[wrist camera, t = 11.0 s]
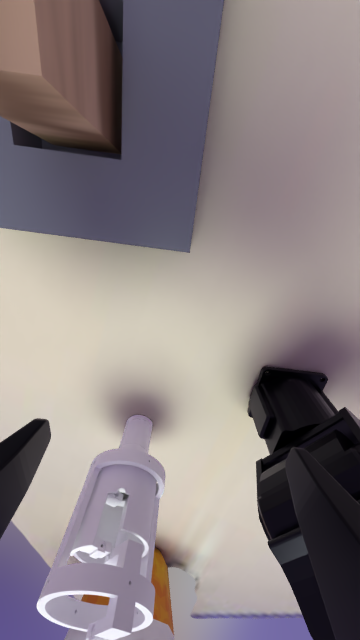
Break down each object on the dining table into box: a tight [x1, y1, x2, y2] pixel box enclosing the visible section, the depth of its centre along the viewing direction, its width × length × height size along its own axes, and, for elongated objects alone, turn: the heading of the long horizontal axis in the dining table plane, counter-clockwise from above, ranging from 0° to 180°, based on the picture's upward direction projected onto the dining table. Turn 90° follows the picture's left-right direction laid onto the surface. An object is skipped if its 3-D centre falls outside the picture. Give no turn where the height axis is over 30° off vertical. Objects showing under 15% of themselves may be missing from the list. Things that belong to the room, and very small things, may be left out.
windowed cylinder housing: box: [37, 415, 165, 640], centre depth 19 cm, size 7×7×15 cm
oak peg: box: [0, 0, 123, 155], centre depth 10 cm, size 4×4×9 cm
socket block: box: [0, 0, 224, 253], centre depth 13 cm, size 15×15×4 cm
